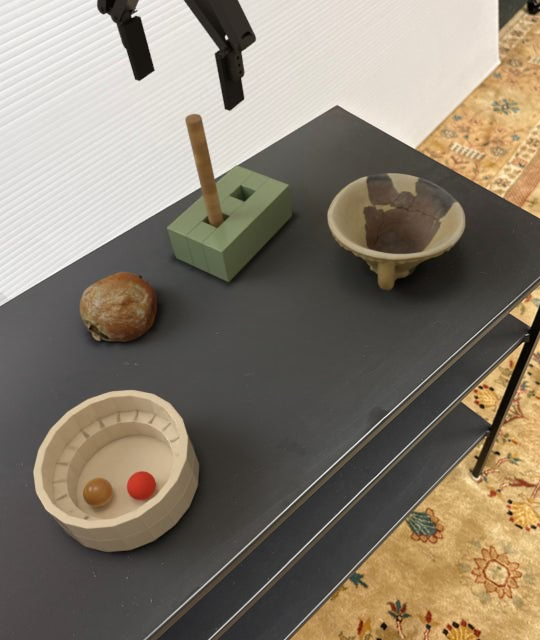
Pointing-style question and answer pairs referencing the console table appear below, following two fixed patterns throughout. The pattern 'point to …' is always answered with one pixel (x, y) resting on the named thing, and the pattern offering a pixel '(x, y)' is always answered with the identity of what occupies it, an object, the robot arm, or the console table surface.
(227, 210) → the holder
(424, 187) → the bowl
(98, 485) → the bead
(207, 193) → the stick
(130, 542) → the mixing bowl
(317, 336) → the console table surface
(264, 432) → the console table surface
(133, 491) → the bead
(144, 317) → the bread roll
